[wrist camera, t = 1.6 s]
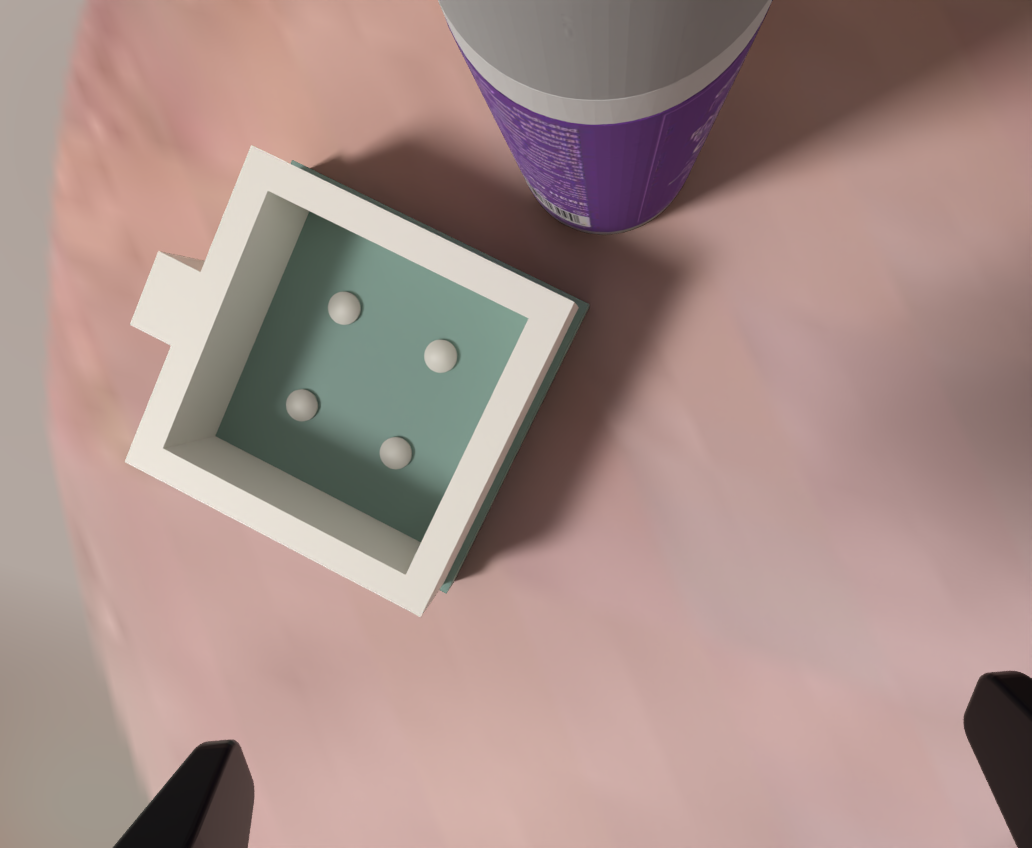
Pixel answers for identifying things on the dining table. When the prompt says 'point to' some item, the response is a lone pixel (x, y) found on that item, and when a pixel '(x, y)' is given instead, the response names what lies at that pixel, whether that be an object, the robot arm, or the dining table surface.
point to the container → (605, 94)
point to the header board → (346, 378)
